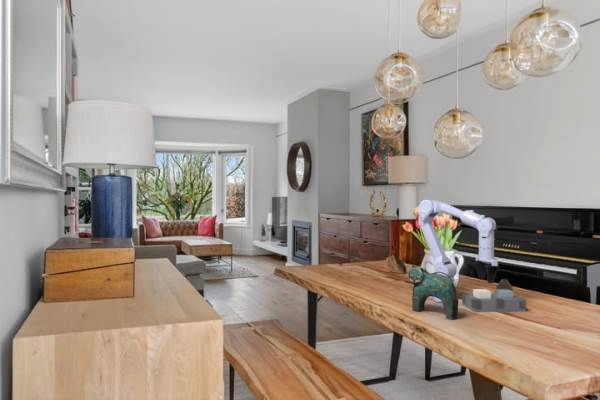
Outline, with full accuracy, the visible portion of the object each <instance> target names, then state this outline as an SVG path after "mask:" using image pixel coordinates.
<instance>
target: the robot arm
mask: <svg viewBox="0 0 600 400" xmlns="http://www.w3.org/2000/svg"><path fill="white" fill-rule="evenodd" d="M417 211H418V225H419V227H420V230H421V232H422V234H423V236H424V239H425V241H426V244H427V246H428V249H429V250H430V253H431V255H432V257H433V263H432V264H433V265H432V266H433V268H434V269H433V270H434V272H433V273H435V272H443V273H446V274H447V275H449V276H450V277H451V279H452V281H453V283H454V284H455V276H456V275H457V272H458V271H457V267H456V265H455V264H454V263H453V262H452V261H451V260H452V259H450V258H449V257H448V256H447V254H446V251H445V250H444V247H443V245H442V243H441V241H440V239H439V236H438V234H437V231H436V229H435V227H434V225H433V221H434V219H435V217H436V216H437V215H438V214H440V213H445V214H447V215H451V216H454V217H456V218H458V219H460V221H461V223H463V224H465V225H467V226H469V227H472V228H474V229H477V231H478V255H476V256H475V261H474V262H473V265H474V267H475V270H476V273H477V277H478V279H479V280H481V281H482V280H487V283H488V284H494V283H495V280H496V276H497V274H498V272H499V270H500V268H501V266H500V265H499V263H498V262H499V261H498V260H497V259H498V258H495V229H496V228H497V222H496V221H495V220H494V219H493V218H492V217H486V215H484V214H479V213H476V212H475V210H472V209H470V210H469V209H468V210H464V211H463V210H462V209H459V208H457V207H455V206H453V205H450V204H448V203H447V202H443V201H440V200H437V199H431V200H430V199H423V200H422V201H421V202H420V203H419V205H418V206H417ZM436 274H441V275H444V276H446V277H448V276H447V275H445V274H442V273H436ZM448 278H449V277H448ZM485 278H486V279H485ZM449 279H450V278H449ZM451 279H450V280H451ZM429 298H430V299H431V300H433V301H434V302H436V303H442V301H441V300H440V299H439V298H436V297H432V296H429Z"/></svg>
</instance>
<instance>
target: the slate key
mask: <svg viewBox="0 0 600 400" xmlns="http://www.w3.org/2000/svg"><path fill="white" fill-rule="evenodd" d="M494 293H495V296H497V297H499V298H513V295H514V290H513V291H510V290H508V289H496V288H494Z"/></svg>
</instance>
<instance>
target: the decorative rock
mask: <svg viewBox="0 0 600 400" xmlns="http://www.w3.org/2000/svg"><path fill="white" fill-rule="evenodd" d="M385 262H386V265H387V267H388V270H389V271H390V272H392V273H396V274H399V275H404V274H406V272H407V266H406V265H405V263H404V262H403V260H401V258H398V256H397V255H396V254H391V256H386V258H385Z"/></svg>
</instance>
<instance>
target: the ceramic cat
mask: <svg viewBox="0 0 600 400" xmlns="http://www.w3.org/2000/svg"><path fill="white" fill-rule="evenodd" d="M427 263H429V264H431V266H433V263H432V261H429V260H428V261H427V260H426V261H425V263H424V265H426V264H427ZM436 273H442V274H445V275H447V274H446V273H443V272H435V273H434V272H429V271H428V270H427V268H426V267H421V266H420V267H419V266H418V267H417V266H416V265H415V264H412V265H411V268H410V270H408V280H409V282H411V283H412V284H413V287H412V297H411V301H412V303H411V305H412V309H411V310H412V311H413V312H417V313H419V312H420V313H421V312H425V304H426V301H427V299H428V298H429V297H431V296H432V297H436V298H439V299H440V300H441V301H442V302H441V303H442V307H443V309H444V313H445V318H446V319H447V320H451V321H455V320H457V318H458V312H459V299H458V292H457V287H456V285H455V282H454V283H453V281H452V279H451V277H450V276H449V275H447V276H448V277H449V278H450V279H451V280H450V279H449V278H448V277H446V276H444V275H441V274H436Z"/></svg>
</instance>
